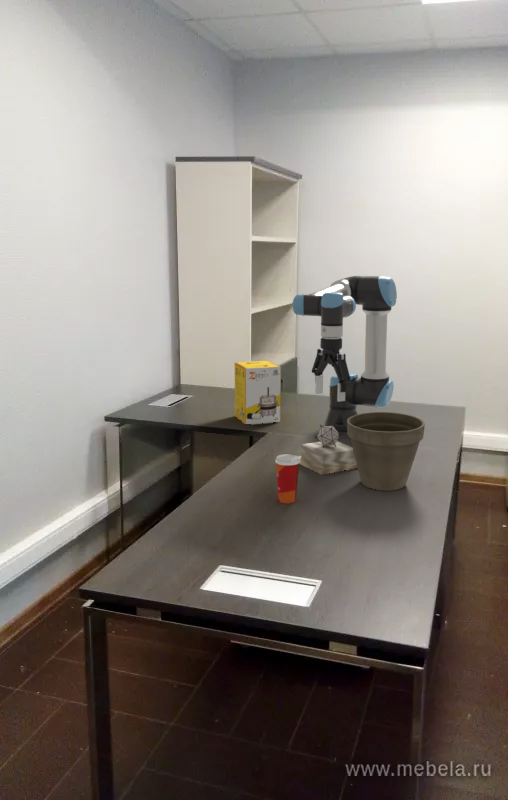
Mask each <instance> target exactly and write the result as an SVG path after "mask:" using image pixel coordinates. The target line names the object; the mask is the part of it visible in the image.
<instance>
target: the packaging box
mask: <svg viewBox="0 0 508 800" xmlns="http://www.w3.org/2000/svg"><path fill="white" fill-rule="evenodd" d="M281 380H282V366H280V365H279V364H276V363H274V362H272V361H269V360H260V361H259V360H258V361H256V360H255V361H239V362H234V417H235V418H236V417H237V418H236V419H237V420H239V421H240V420H241V421H242V422H241V421H240V422H241V423H242V424H244V425H245V424H251V425H263V424H273V422H276V423H281V405H282V404H281V403H282V402H281V400H282V397H281V396H282V391H281V389H282V386H281V385H282V383H281V382H282V381H281ZM262 423H263V424H262Z"/></svg>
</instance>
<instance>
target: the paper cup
mask: <svg viewBox="0 0 508 800" xmlns="http://www.w3.org/2000/svg"><path fill="white" fill-rule="evenodd" d="M298 456H299V455H295V454H290V453H289V454H287V453H285V454H284V453H283V454H278V455H277V456H276V458H275V461H274V463H275V467H276V468H275V469H276V471H275V472H276V488H277V501H278V503H280V504H286V505H287V504H293V503H294V504H295V503H296V502H297V493H298V492H297V491H298V480H299V479H298V478H299V470H300V469H299V468H300V467H299V465H300V464H299V463H300V460H299V457H298Z"/></svg>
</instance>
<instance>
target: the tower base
mask: <svg viewBox="0 0 508 800" xmlns="http://www.w3.org/2000/svg"><path fill="white" fill-rule="evenodd" d="M335 445H336V447H335ZM335 445H332V446H324V448H323V445H322V443H321V442H320V441H316V442H310V443H309V442H308V443H303V444H301V452H300V453H301V455H297V456H298V457H299V460H300V463H299V465H300V466H303V467H305V468H306V469H308V468H309V470H310V469H311V471H312V470H313V472H314V473H316V472H317V474H318V473H319V475H321V476H325V475H328V474H329V473H330V474H335V473H338V472H339V473H340V471H341V472H345V471H344V470H346V471H350V469H351V470H356V469H355V468H357V464H356V460H355V456H354V452H353V447H352V446H349V445H347V444H345V443H343V442H340V441H339V440H337V442H336V444H335ZM357 469H358V468H357ZM334 472H335V473H334Z"/></svg>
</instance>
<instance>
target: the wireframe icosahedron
mask: <svg viewBox="0 0 508 800" xmlns="http://www.w3.org/2000/svg"><path fill="white" fill-rule="evenodd" d="M319 426H320V429H319V431H318V434H317V435H316V436H314V439H318V440H319V441H318V442H321V443H322V445H323V448H324V446H332V445H335V444H336V442H337V441H338V439H339V438H340V436H342V433H339V431H337V430H336V429H335V428H334V427H333V426H334V424H332V426H325V425H321V424H320V425H319ZM335 447H336V445H335Z"/></svg>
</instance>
